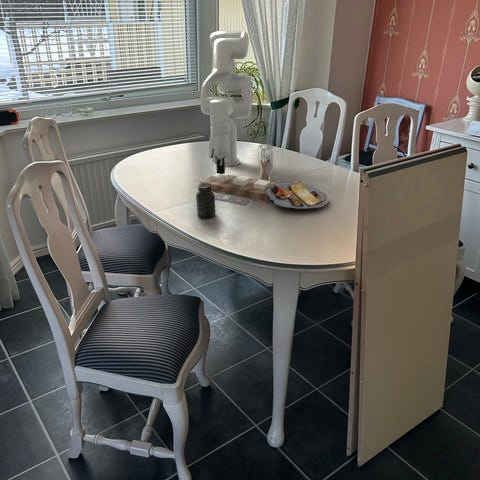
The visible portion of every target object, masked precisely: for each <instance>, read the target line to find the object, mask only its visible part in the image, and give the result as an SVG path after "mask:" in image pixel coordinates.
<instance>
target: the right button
mask: <svg viewBox="0 0 480 480" xmlns="http://www.w3.org/2000/svg"><path fill="white" fill-rule="evenodd" d="M257 180H258V181H257V182H255V183H254V188H255V189H260V190H266V189H267V188H268V186H271V182H272V181H265V180H259V179H257Z"/></svg>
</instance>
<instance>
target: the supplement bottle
mask: <svg viewBox="0 0 480 480" xmlns="http://www.w3.org/2000/svg"><path fill="white" fill-rule="evenodd" d="M197 190H198V191H197V193H196V194H195V196H196V197H195V200H196V201H195V202H196V212H197V217H198V218H200V219H203V220H208V219H213V218H214V217H215V216H216V199H215V195H214V193H215V191H211V190H212V188H211V184H207V183H204V184H201V183H200V184H198V185H197Z"/></svg>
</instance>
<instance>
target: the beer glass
mask: <svg viewBox="0 0 480 480" xmlns="http://www.w3.org/2000/svg"><path fill="white" fill-rule="evenodd" d="M274 149H275V148H274V145H273V144H261V145H259V146H258V152H257V154H258V156H257V157H258V158H257V161H258V166H259V177H258V180H265V181H270V182H272V181H273V172H272V170H273V165H274V160H275V150H274Z"/></svg>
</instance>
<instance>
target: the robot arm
mask: <svg viewBox="0 0 480 480" xmlns="http://www.w3.org/2000/svg"><path fill="white" fill-rule="evenodd" d="M209 43H210V47H211V48H210V49H211V50H212V67H211V69H212V71H211V73H210V74H209V76H208V77H206V79H205V80H204V82H203V83H202V86H201V89H200V103H199V104H200V106H199V107H200V110H201V112H202V113H203V114H204V115H207V116H209V118H210V119H209V120H210V136H209V141H208V142H209V145H208V157H209V159H212V163H214V164H215V165H216V174H217V173H218V174H224V173H226V167H234V166H237V165H239V164H240V163H241V160H240V158H238V148H237V147H238V145H237V144H238V143H237V141H238V140H237V138H238V137H237V136H238V135H237V134H238V133H237V131H238V130H237V125H236V123H235V122H234V120H233V119H248V118H250V116H251V114H252V79H251V76H250V74H248V73H247V72H236V60H244V59H246V58H247V55H248V51H249V46H250V45H249V44H250V38H249V35H248V33H247V32H246V31H245V30H238V31H237V30H232V31H231V30H219V31H214V32H212V33H211V34H210V36H209ZM215 86H217V91H218V93H220V94H222V95H209V93H210V90H211V89H212V88H213V87H215ZM228 95H229V96H228ZM230 95H241V97H239V96H238V97H235V96H230Z"/></svg>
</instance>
